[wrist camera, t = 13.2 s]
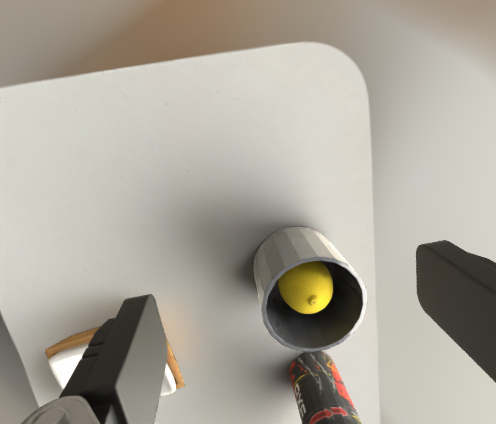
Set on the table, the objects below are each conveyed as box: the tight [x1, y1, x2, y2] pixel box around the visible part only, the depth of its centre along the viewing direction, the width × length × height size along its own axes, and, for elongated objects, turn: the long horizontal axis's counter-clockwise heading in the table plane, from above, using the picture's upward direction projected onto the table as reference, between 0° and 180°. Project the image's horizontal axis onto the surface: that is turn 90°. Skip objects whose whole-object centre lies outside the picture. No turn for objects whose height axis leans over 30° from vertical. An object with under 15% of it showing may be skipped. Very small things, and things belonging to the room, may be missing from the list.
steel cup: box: [253, 226, 367, 352], centre depth 36 cm, size 10×10×9 cm
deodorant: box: [290, 351, 362, 424], centre depth 38 cm, size 6×6×15 cm
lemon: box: [278, 260, 333, 314], centre depth 36 cm, size 6×6×8 cm
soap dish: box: [45, 326, 185, 398], centre depth 39 cm, size 12×10×5 cm
